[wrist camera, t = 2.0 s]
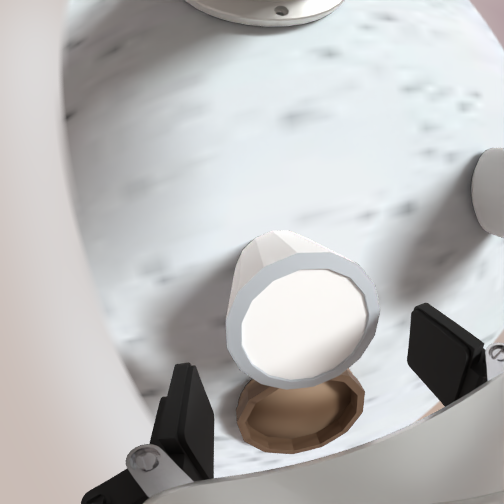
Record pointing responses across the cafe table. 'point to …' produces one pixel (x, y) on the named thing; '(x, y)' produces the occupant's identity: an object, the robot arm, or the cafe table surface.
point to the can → (489, 191)
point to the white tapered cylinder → (298, 311)
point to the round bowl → (299, 414)
